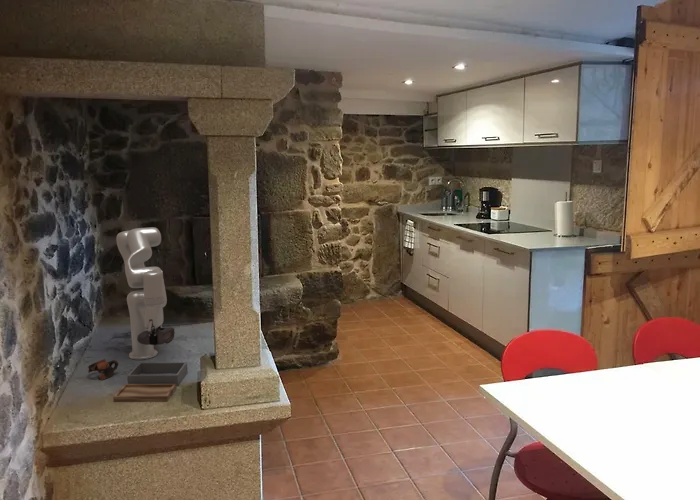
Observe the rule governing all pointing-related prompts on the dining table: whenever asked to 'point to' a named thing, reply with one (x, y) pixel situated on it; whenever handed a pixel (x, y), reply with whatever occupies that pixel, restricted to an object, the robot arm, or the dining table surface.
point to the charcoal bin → (158, 367)
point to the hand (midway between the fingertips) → (156, 341)
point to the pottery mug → (103, 368)
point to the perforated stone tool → (162, 334)
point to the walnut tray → (144, 392)
